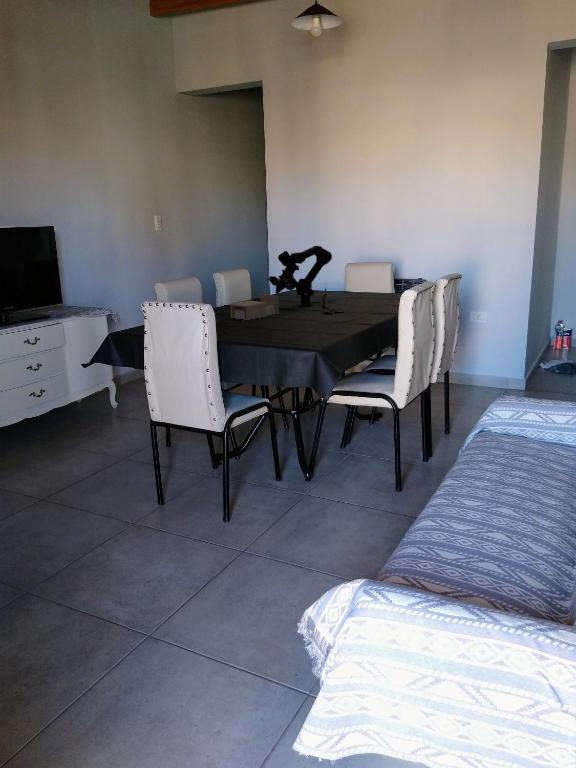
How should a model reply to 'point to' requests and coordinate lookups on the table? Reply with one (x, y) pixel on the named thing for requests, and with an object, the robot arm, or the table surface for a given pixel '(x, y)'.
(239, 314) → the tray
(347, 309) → the table surface
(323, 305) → the butterfly
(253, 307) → the sleeve
